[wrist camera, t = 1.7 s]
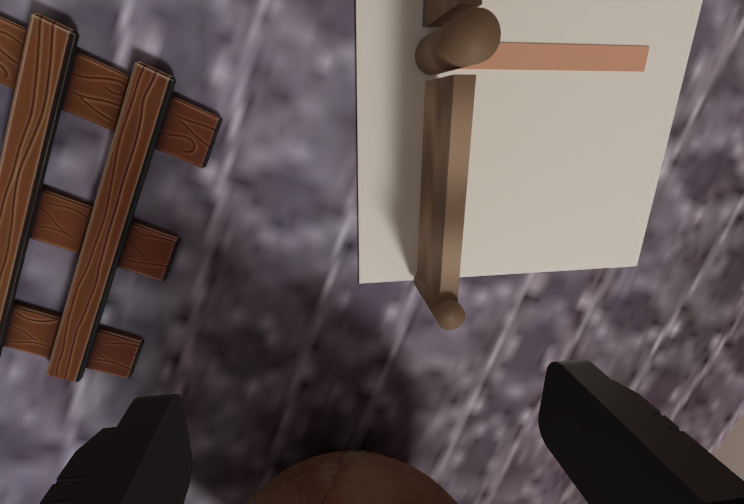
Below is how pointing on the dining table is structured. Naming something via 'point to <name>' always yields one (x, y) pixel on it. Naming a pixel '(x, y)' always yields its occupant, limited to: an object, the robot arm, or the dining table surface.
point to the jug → (351, 482)
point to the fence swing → (444, 194)
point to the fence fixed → (457, 36)
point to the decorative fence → (74, 217)
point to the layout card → (525, 133)
